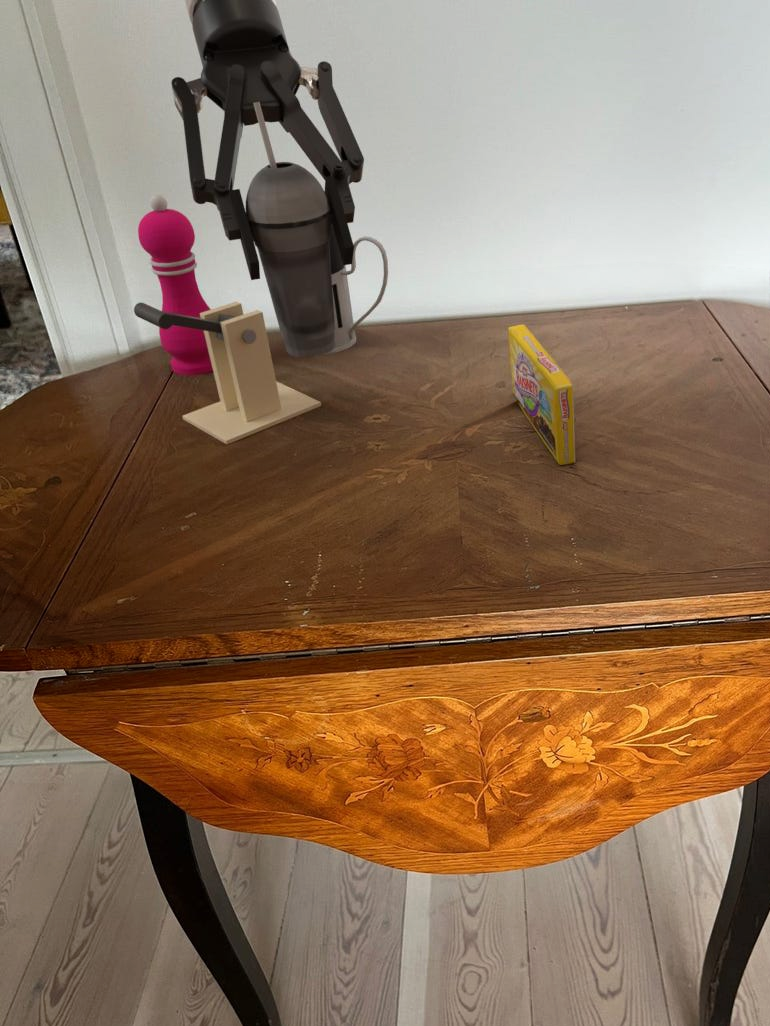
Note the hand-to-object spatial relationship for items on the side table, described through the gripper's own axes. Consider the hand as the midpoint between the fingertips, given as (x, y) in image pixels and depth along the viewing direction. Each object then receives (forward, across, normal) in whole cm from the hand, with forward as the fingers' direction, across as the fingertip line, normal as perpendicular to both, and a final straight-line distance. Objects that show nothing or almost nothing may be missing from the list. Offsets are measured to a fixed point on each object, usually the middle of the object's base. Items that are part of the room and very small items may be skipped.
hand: (302, 263), depth 80 cm
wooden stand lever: (-4, -10, +18) cm, 20 cm away
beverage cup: (+4, 0, +9) cm, 9 cm away
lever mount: (+3, -6, +26) cm, 27 cm away
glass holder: (-8, +8, +37) cm, 39 cm away
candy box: (+14, +22, +16) cm, 30 cm away
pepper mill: (-9, -10, +38) cm, 40 cm away
